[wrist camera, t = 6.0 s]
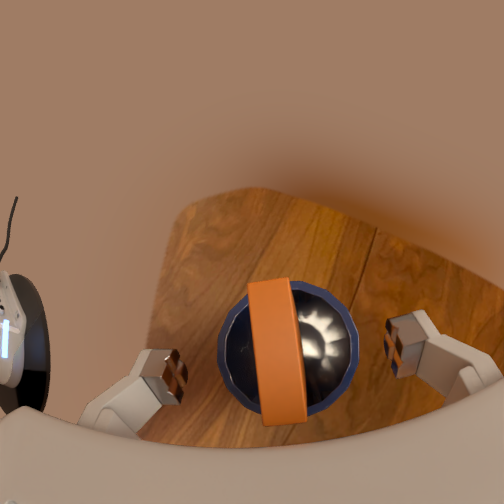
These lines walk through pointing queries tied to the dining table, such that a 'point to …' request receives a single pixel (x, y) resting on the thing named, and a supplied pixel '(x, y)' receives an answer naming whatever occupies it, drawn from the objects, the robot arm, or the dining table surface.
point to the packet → (277, 352)
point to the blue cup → (313, 345)
